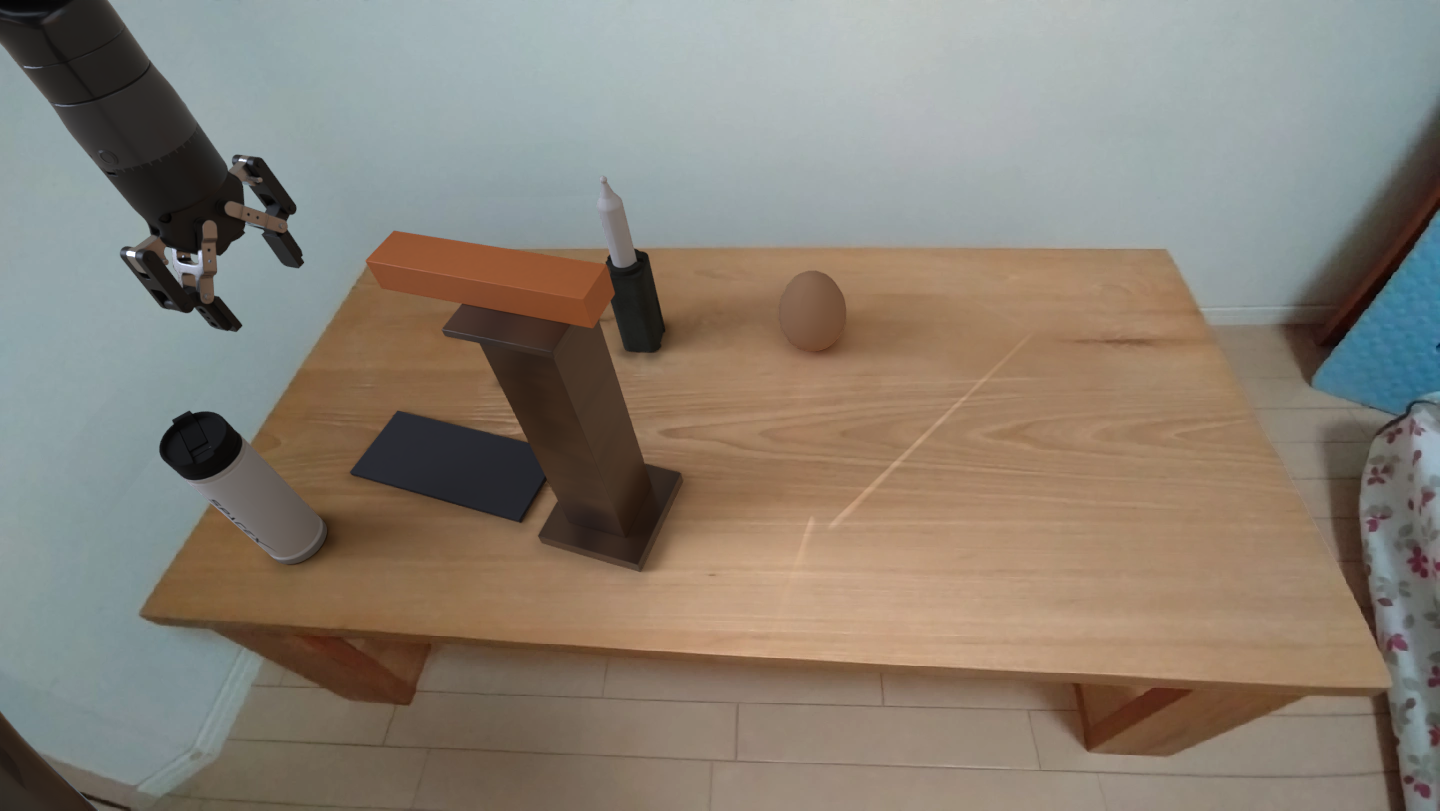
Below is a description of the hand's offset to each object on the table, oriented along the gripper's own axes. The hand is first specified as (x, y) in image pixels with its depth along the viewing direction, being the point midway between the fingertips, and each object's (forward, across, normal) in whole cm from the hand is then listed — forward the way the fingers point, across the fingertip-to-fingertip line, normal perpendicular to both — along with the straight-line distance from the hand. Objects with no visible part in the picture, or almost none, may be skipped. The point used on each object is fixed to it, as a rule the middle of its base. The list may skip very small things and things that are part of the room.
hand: (264, 295), depth 70 cm
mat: (+29, -3, +6) cm, 30 cm away
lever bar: (-3, -2, +24) cm, 25 cm away
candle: (+29, -28, +20) cm, 45 cm away
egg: (+29, -32, +42) cm, 61 cm away
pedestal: (+29, -2, +28) cm, 40 cm away
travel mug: (+29, +11, -6) cm, 32 cm away
